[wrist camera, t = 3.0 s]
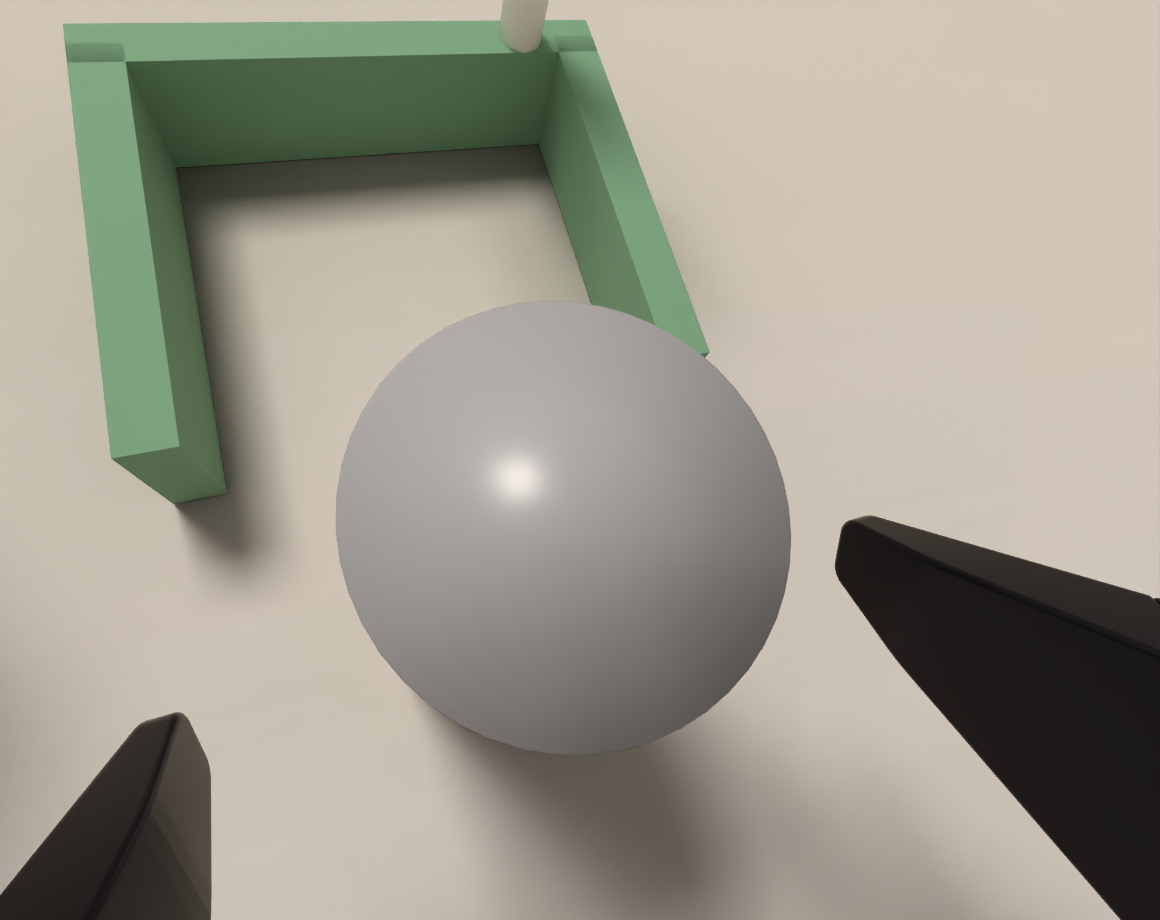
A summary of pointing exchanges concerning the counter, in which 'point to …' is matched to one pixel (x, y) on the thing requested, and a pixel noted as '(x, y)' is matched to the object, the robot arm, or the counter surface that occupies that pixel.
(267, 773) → the counter surface
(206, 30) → the green u-shaped bracket
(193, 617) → the counter surface
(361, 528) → the ball tube
